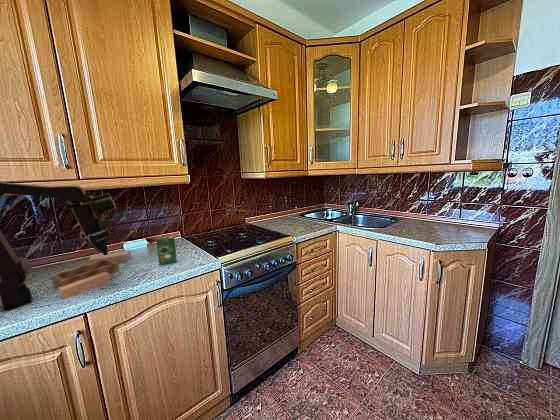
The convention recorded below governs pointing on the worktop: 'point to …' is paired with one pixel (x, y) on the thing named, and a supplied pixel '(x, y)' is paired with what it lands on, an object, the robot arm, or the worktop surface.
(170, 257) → the coffee box
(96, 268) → the wooden open tray
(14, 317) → the worktop surface
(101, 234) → the robot arm
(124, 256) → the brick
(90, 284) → the clay strip
